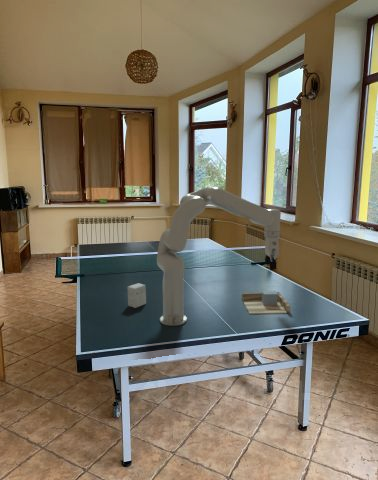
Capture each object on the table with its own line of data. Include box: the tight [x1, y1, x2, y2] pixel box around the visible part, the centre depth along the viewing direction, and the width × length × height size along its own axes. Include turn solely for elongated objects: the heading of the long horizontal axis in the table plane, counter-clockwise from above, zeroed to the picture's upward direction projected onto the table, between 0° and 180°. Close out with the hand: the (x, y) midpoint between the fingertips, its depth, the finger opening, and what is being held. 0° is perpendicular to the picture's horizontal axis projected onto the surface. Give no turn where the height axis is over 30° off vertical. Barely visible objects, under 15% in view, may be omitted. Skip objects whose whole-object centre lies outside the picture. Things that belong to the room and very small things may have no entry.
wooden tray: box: [241, 291, 291, 315], centre depth 193 cm, size 20×20×4 cm
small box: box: [126, 282, 147, 309], centre depth 196 cm, size 8×6×10 cm
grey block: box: [261, 290, 278, 305], centre depth 195 cm, size 7×4×6 cm, turn 92°
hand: (270, 266), depth 191 cm, fingers open, 9 cm apart
